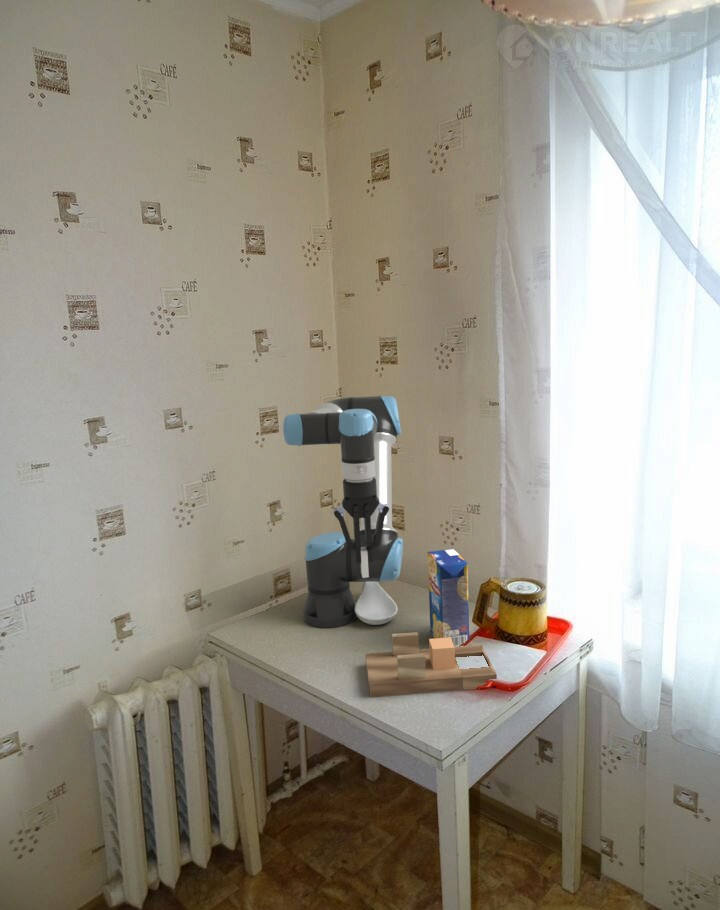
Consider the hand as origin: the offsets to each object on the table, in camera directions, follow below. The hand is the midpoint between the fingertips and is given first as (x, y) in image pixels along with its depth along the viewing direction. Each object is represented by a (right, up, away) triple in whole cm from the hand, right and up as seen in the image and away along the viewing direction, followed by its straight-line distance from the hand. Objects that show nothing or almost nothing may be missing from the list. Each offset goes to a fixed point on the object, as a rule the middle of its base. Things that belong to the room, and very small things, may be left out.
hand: (365, 575), depth 158 cm
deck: (+15, -23, -3) cm, 27 cm away
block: (+18, -19, -4) cm, 27 cm away
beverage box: (+22, -19, +14) cm, 32 cm away
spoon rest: (+3, -17, +33) cm, 37 cm away
